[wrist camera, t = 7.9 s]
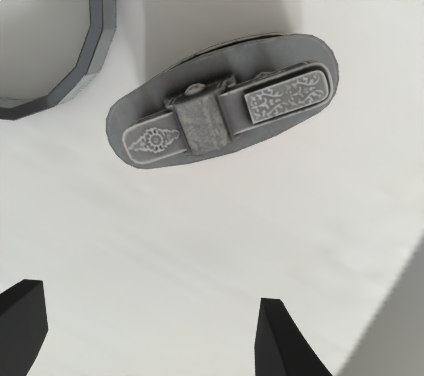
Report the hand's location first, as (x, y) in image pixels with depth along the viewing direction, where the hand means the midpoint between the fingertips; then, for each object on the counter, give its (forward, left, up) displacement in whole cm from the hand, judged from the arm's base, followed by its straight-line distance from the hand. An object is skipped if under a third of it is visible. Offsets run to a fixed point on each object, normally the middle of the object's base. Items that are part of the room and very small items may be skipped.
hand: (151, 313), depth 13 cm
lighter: (+2, +6, -11) cm, 12 cm away
